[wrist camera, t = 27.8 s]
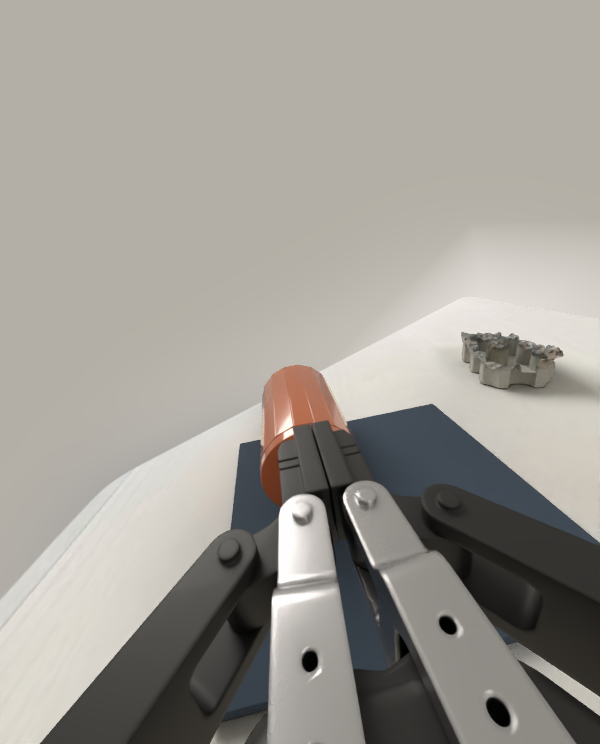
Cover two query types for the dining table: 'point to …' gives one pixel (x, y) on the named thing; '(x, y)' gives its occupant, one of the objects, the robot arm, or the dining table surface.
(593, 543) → the robot arm
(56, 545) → the dining table surface
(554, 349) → the grey jagged stone ring
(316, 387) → the cup
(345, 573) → the mat
